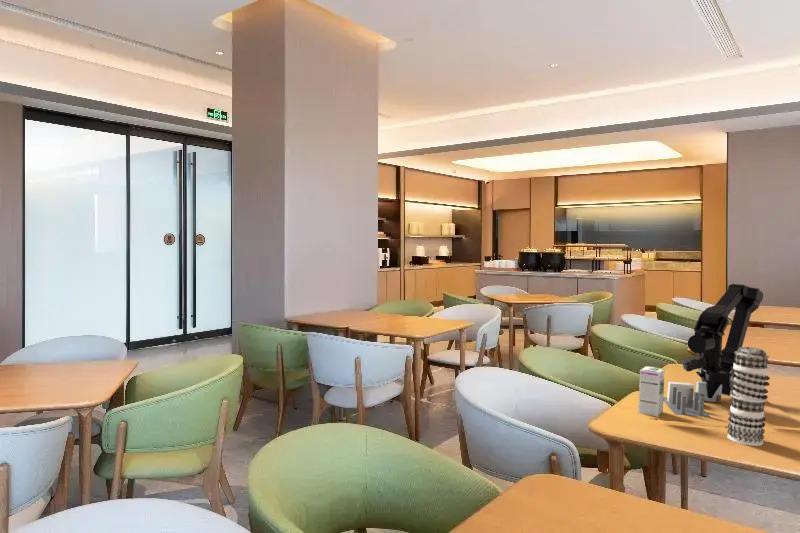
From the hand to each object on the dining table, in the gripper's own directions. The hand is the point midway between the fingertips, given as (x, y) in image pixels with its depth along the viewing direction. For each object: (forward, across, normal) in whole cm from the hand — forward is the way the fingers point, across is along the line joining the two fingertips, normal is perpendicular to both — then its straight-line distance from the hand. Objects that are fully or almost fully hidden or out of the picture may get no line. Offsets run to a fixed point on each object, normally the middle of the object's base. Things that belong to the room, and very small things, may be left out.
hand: (708, 396), depth 186 cm
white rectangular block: (+1, +5, -10) cm, 11 cm away
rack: (+2, +10, -10) cm, 14 cm away
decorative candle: (+2, +33, -1) cm, 33 cm away
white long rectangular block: (+1, 0, 0) cm, 1 cm away
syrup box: (+2, +19, -22) cm, 29 cm away
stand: (+2, 0, 0) cm, 2 cm away
